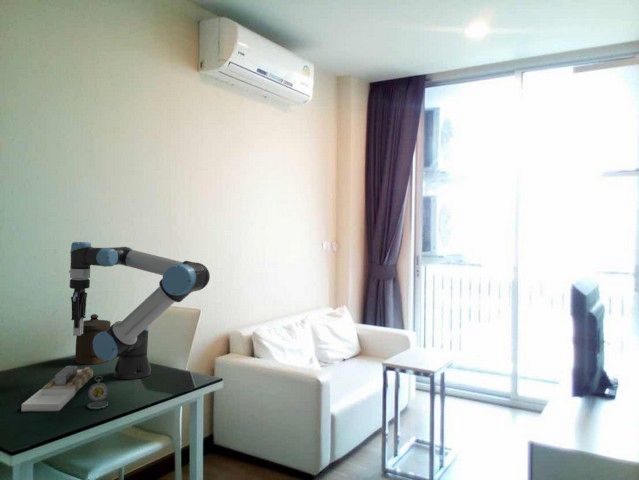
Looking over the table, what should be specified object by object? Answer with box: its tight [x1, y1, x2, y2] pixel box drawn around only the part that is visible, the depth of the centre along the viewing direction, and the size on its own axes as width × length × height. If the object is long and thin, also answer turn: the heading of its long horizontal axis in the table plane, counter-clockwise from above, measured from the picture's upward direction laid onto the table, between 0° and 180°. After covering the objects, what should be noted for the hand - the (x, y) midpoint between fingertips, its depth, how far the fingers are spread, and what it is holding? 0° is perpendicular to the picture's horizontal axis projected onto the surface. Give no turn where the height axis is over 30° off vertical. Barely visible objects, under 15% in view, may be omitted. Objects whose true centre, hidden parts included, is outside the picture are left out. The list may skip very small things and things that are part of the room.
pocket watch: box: [87, 375, 109, 410], centre depth 176 cm, size 8×8×10 cm
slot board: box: [42, 366, 94, 394], centre depth 196 cm, size 24×11×4 cm, turn 9°
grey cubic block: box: [54, 371, 70, 386], centre depth 188 cm, size 4×4×4 cm
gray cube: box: [63, 365, 78, 378], centre depth 197 cm, size 4×4×4 cm
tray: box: [20, 388, 76, 413], centre depth 176 cm, size 16×12×2 cm
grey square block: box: [59, 368, 74, 382], centre depth 193 cm, size 4×4×4 cm
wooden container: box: [74, 313, 112, 365], centre depth 233 cm, size 15×15×22 cm
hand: (78, 334), depth 205 cm, fingers open, 2 cm apart
